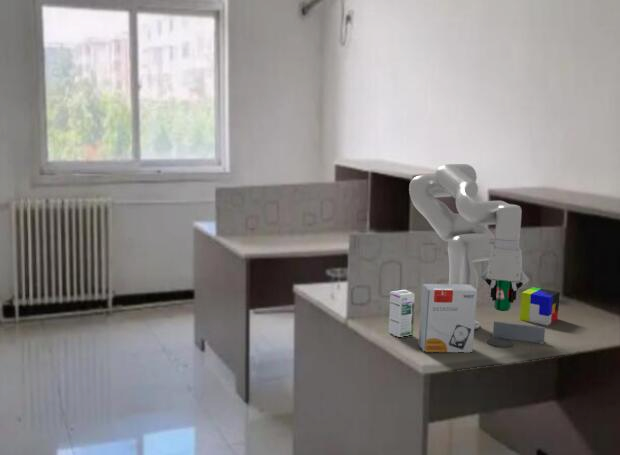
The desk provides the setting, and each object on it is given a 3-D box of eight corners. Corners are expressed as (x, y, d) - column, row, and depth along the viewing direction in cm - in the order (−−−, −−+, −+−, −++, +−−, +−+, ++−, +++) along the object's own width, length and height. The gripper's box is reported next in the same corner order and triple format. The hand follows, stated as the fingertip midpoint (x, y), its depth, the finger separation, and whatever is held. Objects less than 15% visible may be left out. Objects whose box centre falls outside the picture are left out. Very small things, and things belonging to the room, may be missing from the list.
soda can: (490, 308, 240) (493, 271, 238) (503, 306, 242) (506, 269, 240) (500, 312, 236) (503, 274, 234) (513, 310, 238) (516, 273, 236)
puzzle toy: (547, 325, 262) (549, 297, 260) (519, 319, 268) (521, 292, 266) (557, 319, 270) (559, 292, 268) (530, 313, 276) (532, 287, 274)
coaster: (485, 345, 239) (485, 343, 239) (488, 337, 246) (489, 336, 246) (511, 348, 236) (511, 346, 236) (514, 341, 243) (514, 339, 243)
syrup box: (399, 338, 243) (401, 294, 241) (388, 333, 248) (390, 290, 246) (413, 336, 246) (415, 292, 244) (401, 331, 251) (403, 288, 249)
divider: (492, 337, 247) (493, 322, 246) (493, 334, 250) (494, 320, 249) (543, 344, 241) (544, 329, 240) (544, 341, 244) (545, 326, 243)
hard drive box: (423, 353, 230) (427, 289, 226) (417, 345, 237) (421, 283, 234) (473, 353, 232) (477, 289, 228) (466, 344, 239) (470, 283, 236)
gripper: (477, 243, 235) (473, 300, 238) (534, 248, 229) (529, 307, 232) (481, 239, 242) (477, 295, 245) (536, 244, 236) (532, 301, 239)
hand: (503, 300), depth 239 cm, fingers closed on soda can, 5 cm apart
